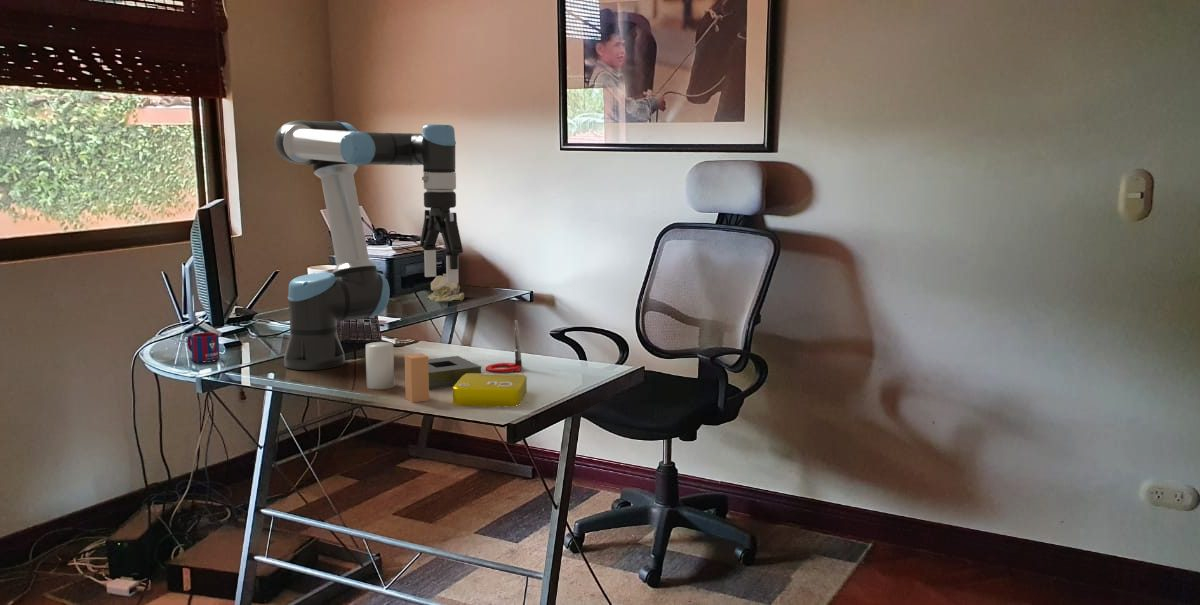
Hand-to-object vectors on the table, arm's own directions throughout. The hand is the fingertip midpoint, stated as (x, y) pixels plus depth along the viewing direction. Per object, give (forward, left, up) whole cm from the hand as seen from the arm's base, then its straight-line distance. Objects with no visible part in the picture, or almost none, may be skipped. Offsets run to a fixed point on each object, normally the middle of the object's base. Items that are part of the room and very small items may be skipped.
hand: (441, 279), depth 222 cm
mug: (-54, -46, -25) cm, 75 cm away
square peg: (+14, -12, -25) cm, 31 cm away
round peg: (-2, -15, -25) cm, 29 cm away
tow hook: (-3, +18, -25) cm, 31 cm away
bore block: (0, 0, -25) cm, 25 cm away
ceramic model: (-121, +52, -25) cm, 135 cm away
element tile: (+21, +3, -25) cm, 33 cm away
